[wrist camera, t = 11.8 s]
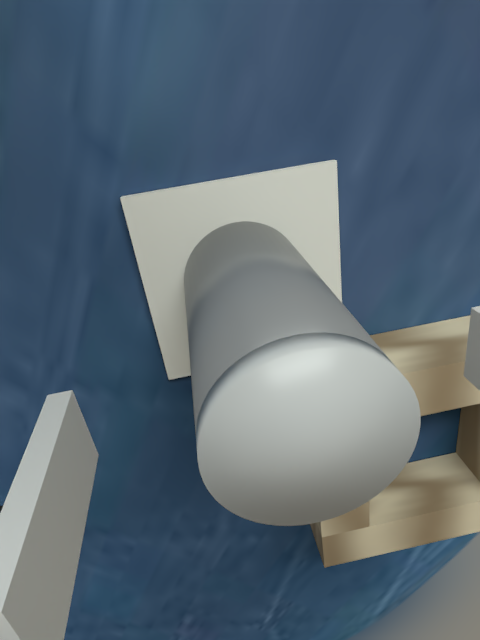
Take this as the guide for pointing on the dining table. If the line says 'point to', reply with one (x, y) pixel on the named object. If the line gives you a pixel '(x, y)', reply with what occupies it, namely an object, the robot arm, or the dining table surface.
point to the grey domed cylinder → (287, 385)
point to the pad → (218, 210)
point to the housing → (424, 475)
